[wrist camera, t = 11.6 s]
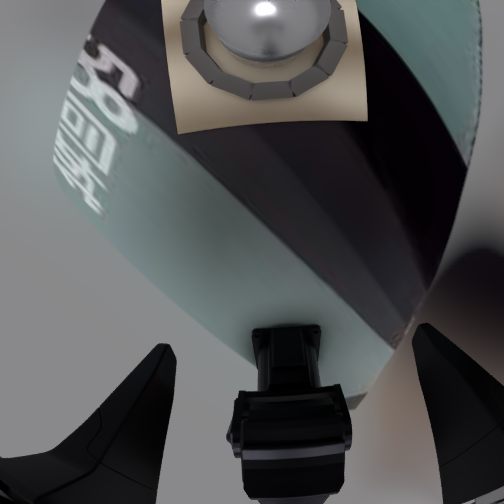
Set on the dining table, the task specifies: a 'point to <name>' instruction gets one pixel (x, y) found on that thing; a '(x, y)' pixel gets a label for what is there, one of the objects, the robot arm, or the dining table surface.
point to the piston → (267, 28)
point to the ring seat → (262, 74)
